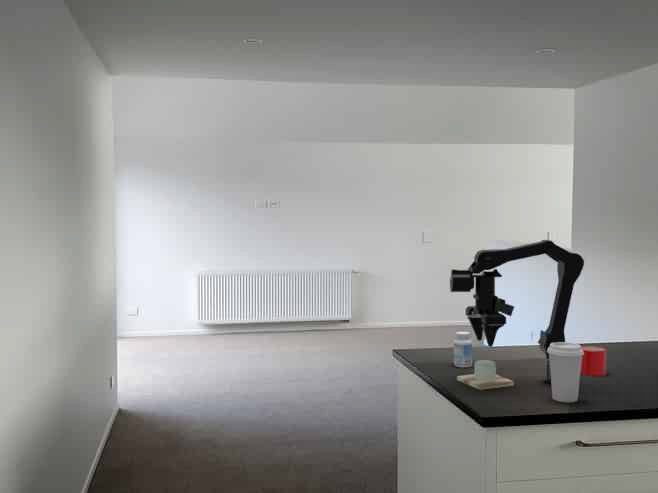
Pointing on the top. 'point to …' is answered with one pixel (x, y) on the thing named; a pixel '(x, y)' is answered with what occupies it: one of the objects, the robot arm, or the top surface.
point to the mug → (593, 361)
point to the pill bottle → (462, 350)
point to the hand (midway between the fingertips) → (484, 343)
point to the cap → (485, 370)
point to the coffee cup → (565, 370)
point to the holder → (485, 382)
